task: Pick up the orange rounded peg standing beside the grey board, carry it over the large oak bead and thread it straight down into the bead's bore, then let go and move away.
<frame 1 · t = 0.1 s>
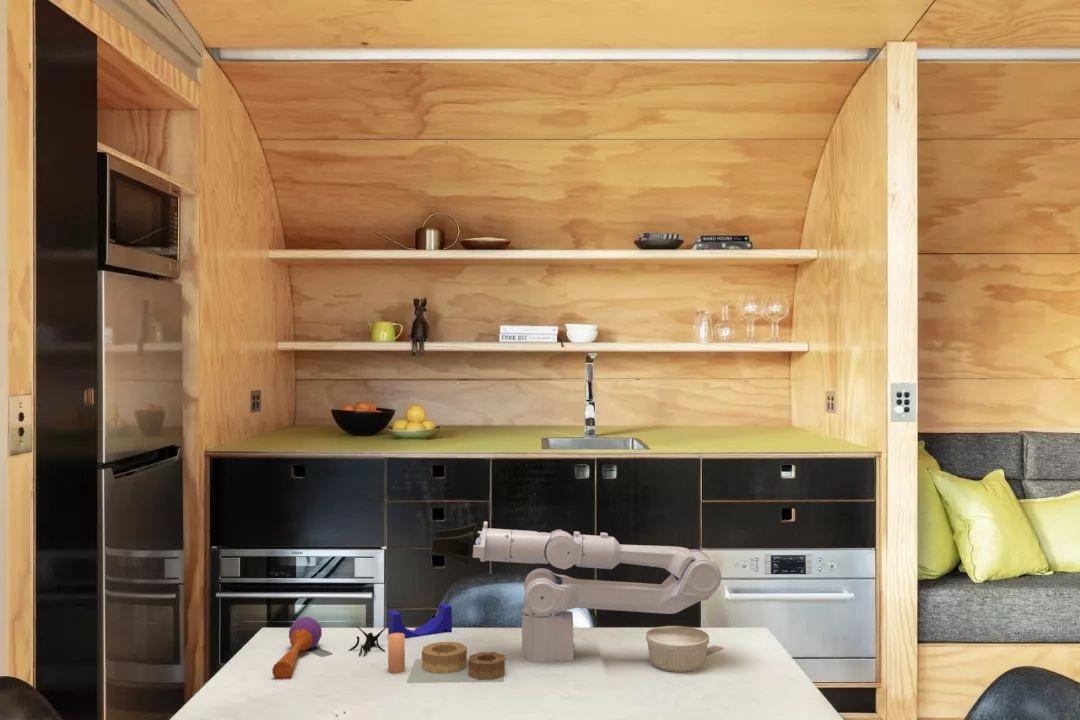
hand: (434, 541, 157), 22 cm above the table, tool horizontal, fingers open, 7 cm apart
creature: (367, 658, 161), on the table
blue curved cradle: (419, 639, 172), on the table
oak bead: (444, 665, 152), resting on board
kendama: (296, 662, 159), on the table
walnut bead: (486, 673, 148), resting on board
ramekin: (677, 665, 156), on the table
board: (458, 675, 150), on the table
orange rounded peg: (396, 676, 150), on the table
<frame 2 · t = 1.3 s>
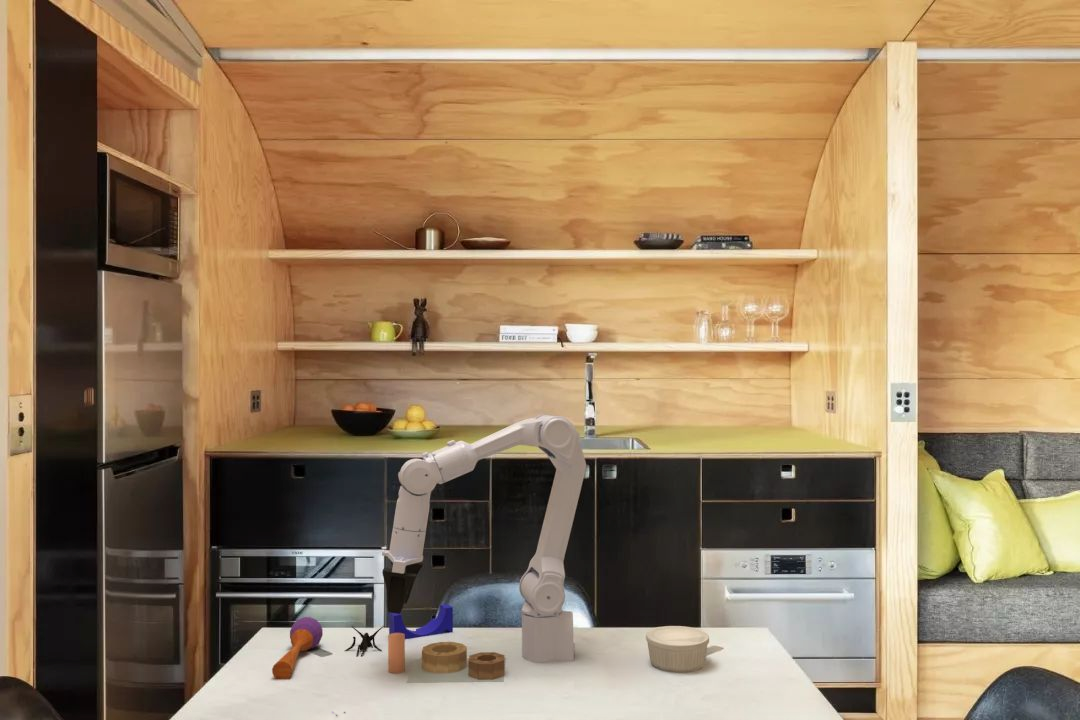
hand: (397, 607, 151), 12 cm above the table, tool pointing down, fingers open, 7 cm apart
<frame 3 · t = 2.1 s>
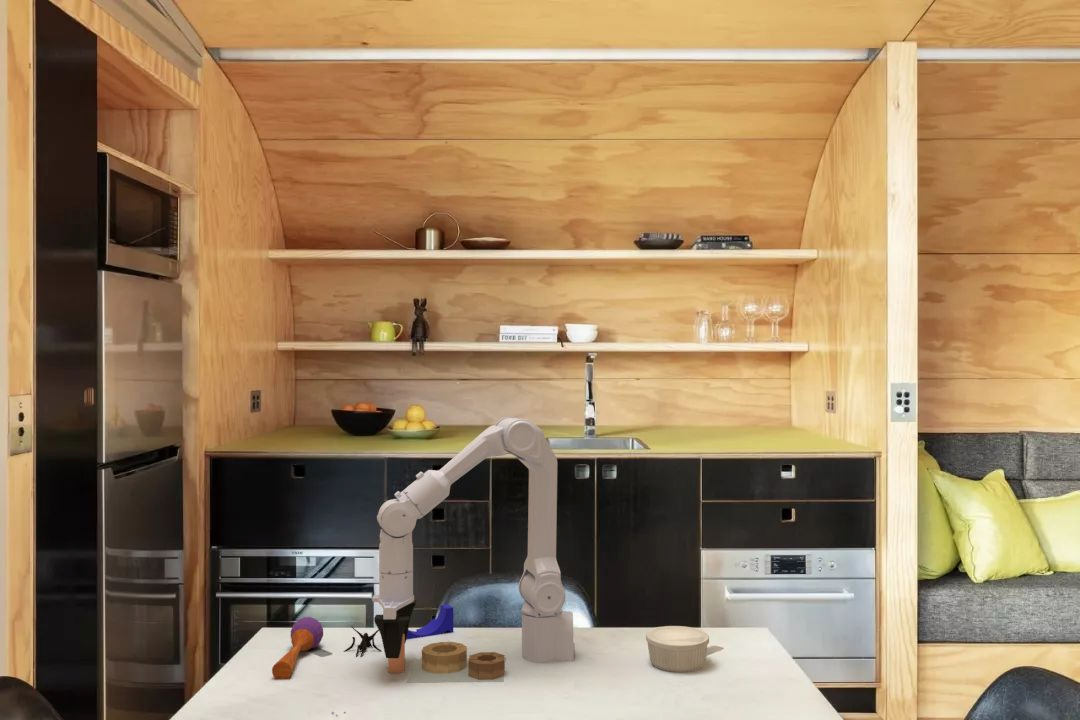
hand: (396, 650, 150), 4 cm above the table, tool pointing down, fingers open, 7 cm apart
nothing on the table moved.
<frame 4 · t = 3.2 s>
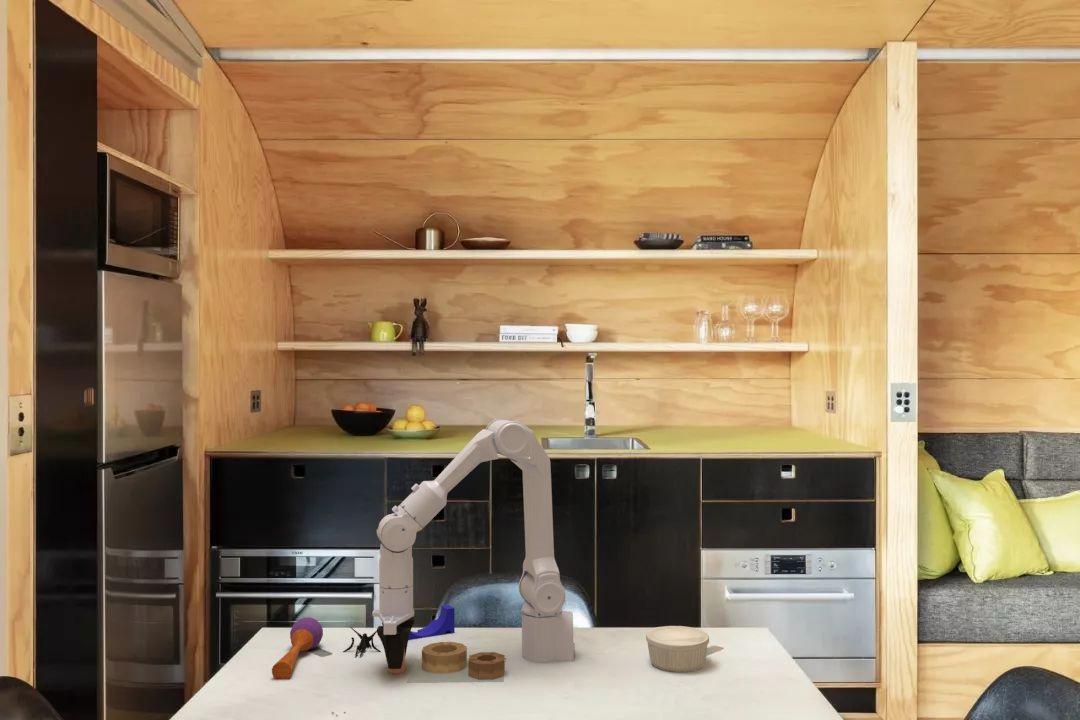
hand: (396, 665, 150), 2 cm above the table, tool pointing down, fingers closed on orange rounded peg, 3 cm apart
orange rounded peg: (396, 676, 150), on the table, touching gripper
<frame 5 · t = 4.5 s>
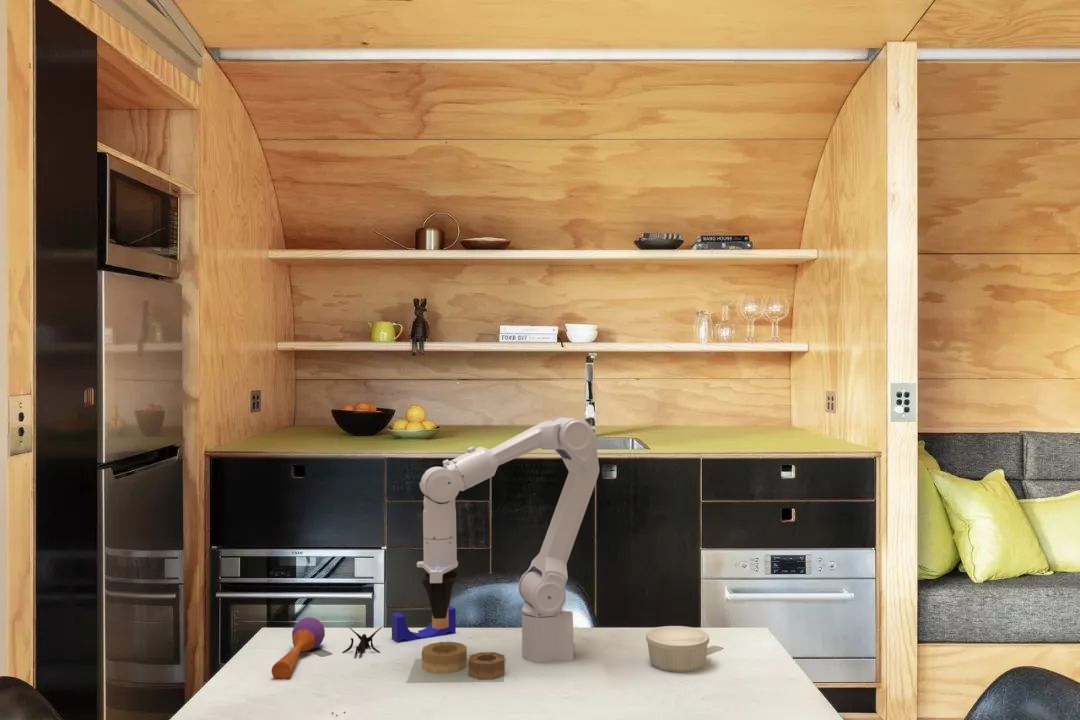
hand: (440, 615, 152), 10 cm above the table, tool pointing down, fingers closed on orange rounded peg, 3 cm apart
orange rounded peg: (440, 626, 152), point 8 cm above the table, touching gripper
when the fingers open (5 cm above the table, at t = 5.8 s): orange rounded peg drops 2 cm, resting on board.
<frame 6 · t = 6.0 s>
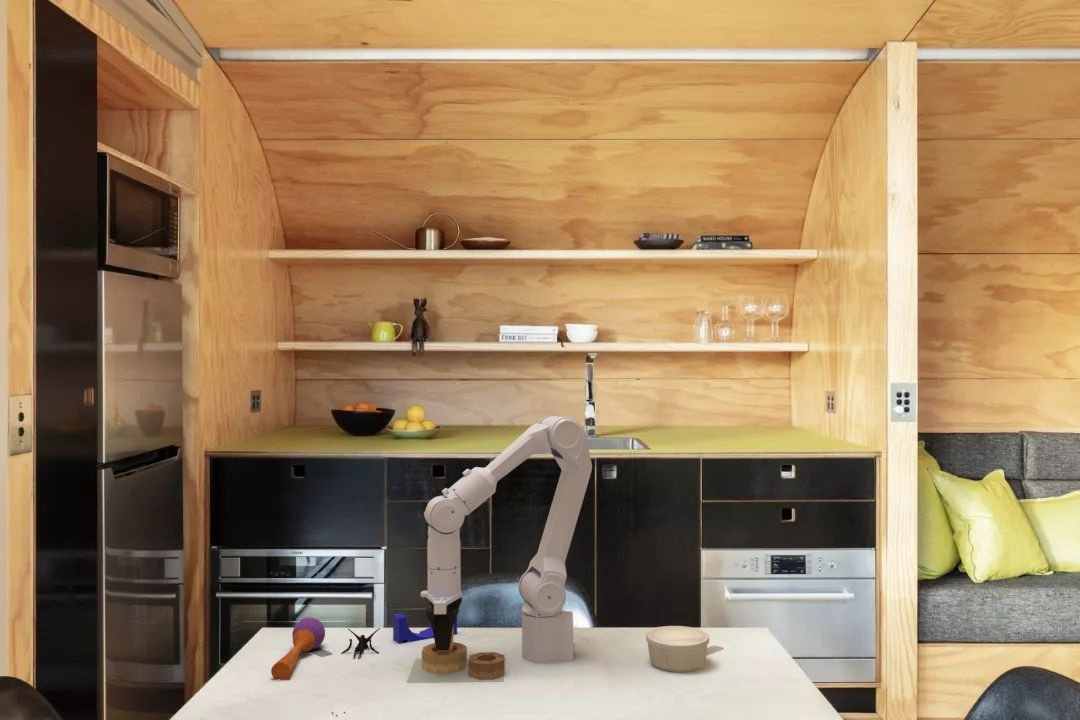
hand: (444, 645, 152), 5 cm above the table, tool pointing down, fingers open, 4 cm apart
orange rounded peg: (444, 665, 152), point 1 cm above the table, touching board
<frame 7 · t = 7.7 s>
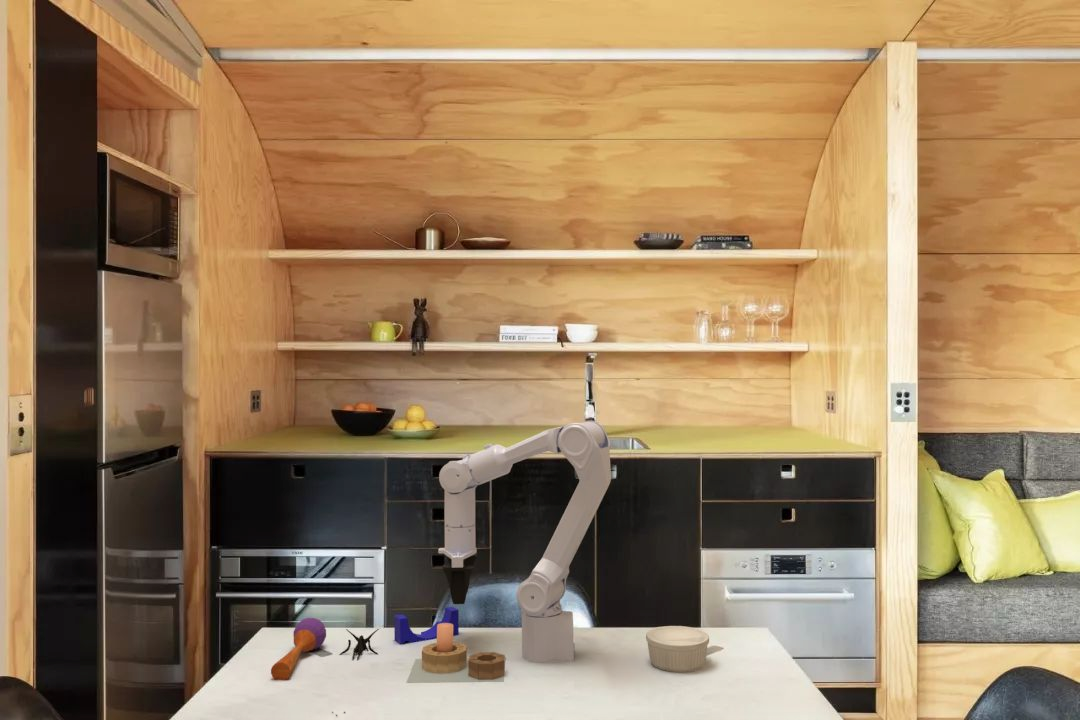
hand: (460, 598, 163), 10 cm above the table, tool pointing down, fingers open, 7 cm apart
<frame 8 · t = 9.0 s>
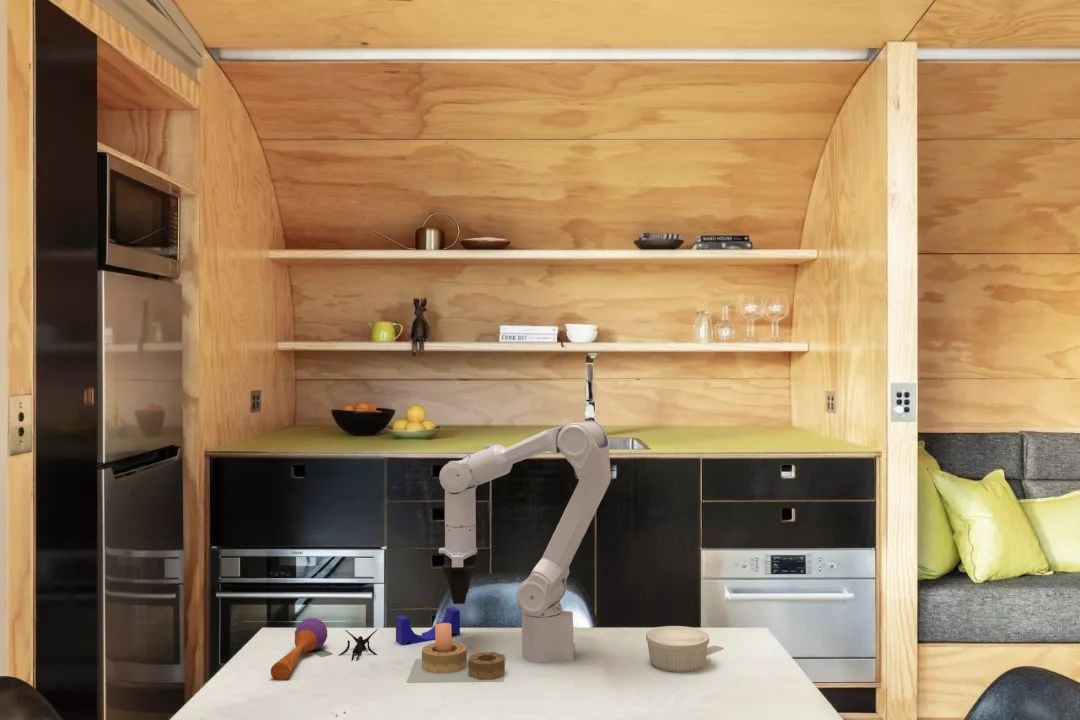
hand: (460, 598, 163), 10 cm above the table, tool pointing down, fingers open, 7 cm apart
at the end: orange rounded peg 0.1 cm off-centre on the oak bead, point 0.0 cm above the oak bead's base; orange rounded peg tilted 2°; the gripper is holding nothing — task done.
